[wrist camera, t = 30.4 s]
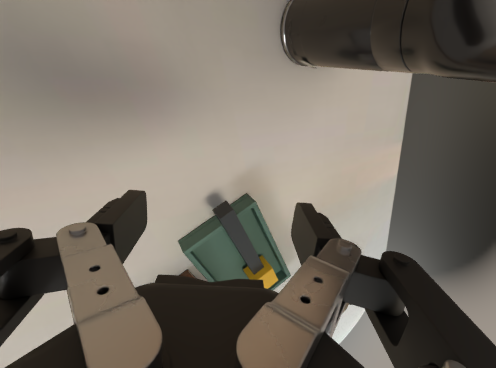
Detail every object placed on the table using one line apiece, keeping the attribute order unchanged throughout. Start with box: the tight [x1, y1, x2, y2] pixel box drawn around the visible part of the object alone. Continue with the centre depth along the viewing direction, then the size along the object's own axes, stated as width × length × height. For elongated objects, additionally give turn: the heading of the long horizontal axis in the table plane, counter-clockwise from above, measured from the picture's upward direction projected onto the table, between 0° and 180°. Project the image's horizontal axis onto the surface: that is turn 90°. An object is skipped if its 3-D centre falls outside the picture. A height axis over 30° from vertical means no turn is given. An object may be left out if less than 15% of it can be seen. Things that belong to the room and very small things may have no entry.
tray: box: [178, 194, 291, 290], centre depth 48 cm, size 24×14×3 cm, turn 22°
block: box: [213, 201, 278, 289], centre depth 44 cm, size 24×5×4 cm, turn 21°
